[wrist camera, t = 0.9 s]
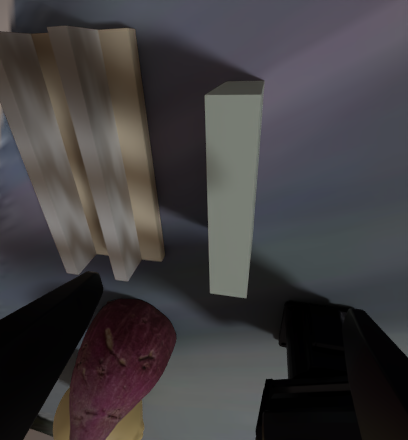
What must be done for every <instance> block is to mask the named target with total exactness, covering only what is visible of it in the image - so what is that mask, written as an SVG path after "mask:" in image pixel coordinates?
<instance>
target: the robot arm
mask: <svg viewBox="0 0 408 440" xmlns="http://www.w3.org/2000/svg"><path fill="white" fill-rule="evenodd" d="M102 293H103V285H102V282H101V278H100V275H99V273H97V272H91V271H88V272H85V273H83V274H82V275H80V276H78V277H76V278H74V279H73V280H71V281H69V282H67V283H65V284H64V285H62V286H60V287H58V288H56V289H55V290H53V291H51V292H49V293H47V294H46V295H44V296H42V297H40V298H38V299H37V300H35V301H33V302H31V303H29V304H28V305H26V306H24V307H22V308H20V309H19V310H17V311H15V312H13V313H11V314H9V315H8V316H6V317H4V318H2V319H0V440H23V439H24V437H25V435H26V434H27V432H28V431H29V429H30V427H31V425H32V424H33V422H34V420H35V418H36V417H37V415H38V413H39V411H40V410H41V408H42V406H43V404H44V403H45V401H46V399H47V397H48V396H49V394H50V392H51V390H52V389H53V387H54V385H55V383H56V382H57V380H58V378H59V376H60V375H61V373H62V371H63V369H64V368H65V366H66V364H67V362H68V361H69V359H70V357H71V355H72V354H73V352H74V350H75V348H76V347H77V345H78V343H79V341H80V340H81V338H82V336H83V334H84V333H85V331H86V329H87V327H88V325H89V323H90V320H91V318H92V316H93V314H94V311H95V309H96V307H97V305H98V303H99V300H100V298H101V296H102ZM290 306H291V307H290ZM279 345H280V346H281V347H286V348H287V365H288V379H280V380H273V379H266V382H265V387H264V390H263V395H262V400H261V405H260V411H259V416H258V421H257V426H256V440H408V357H407V356H406V355H405V354H404V353H403V352H402V351H401V350H400V349H399V348H398V347H397V345H396V344H395V343H394V342H393V341H392V340H391V339H390V338H389V337H388V336H387V335H386V334H385V333H384V331H383V330H382V329H381V328H380V327H379V326H378V325H377V324H376V323H375V322H374V321H373V320H372V319H371V318H370V316H369V315H368V314H367V313H366V312H365V311H363V310H361V309H354V308H350V309H344V308H336V307H329V306H321V305H314V304H307V303H299V302H292V301H289V302H286V303H285V307H284V313H283V318H282V324H281V329H280V335H279Z"/></svg>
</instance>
